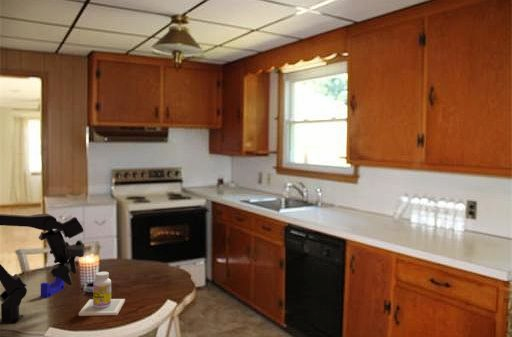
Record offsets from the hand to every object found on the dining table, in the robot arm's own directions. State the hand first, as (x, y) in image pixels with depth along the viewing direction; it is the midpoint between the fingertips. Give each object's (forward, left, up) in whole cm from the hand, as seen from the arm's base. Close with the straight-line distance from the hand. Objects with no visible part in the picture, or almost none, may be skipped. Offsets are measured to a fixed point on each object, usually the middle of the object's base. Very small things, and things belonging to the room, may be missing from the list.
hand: (73, 278), depth 169 cm
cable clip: (+16, +14, -11) cm, 25 cm away
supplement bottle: (-3, -12, -10) cm, 16 cm away
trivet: (-2, -12, -11) cm, 16 cm away
